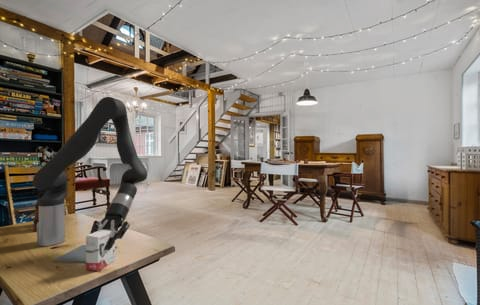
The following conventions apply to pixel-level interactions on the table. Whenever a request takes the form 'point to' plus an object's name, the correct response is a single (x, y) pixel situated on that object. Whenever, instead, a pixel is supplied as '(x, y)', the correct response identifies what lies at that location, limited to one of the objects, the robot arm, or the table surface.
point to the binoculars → (37, 210)
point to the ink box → (99, 250)
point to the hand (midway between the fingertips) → (99, 248)
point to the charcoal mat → (74, 255)
